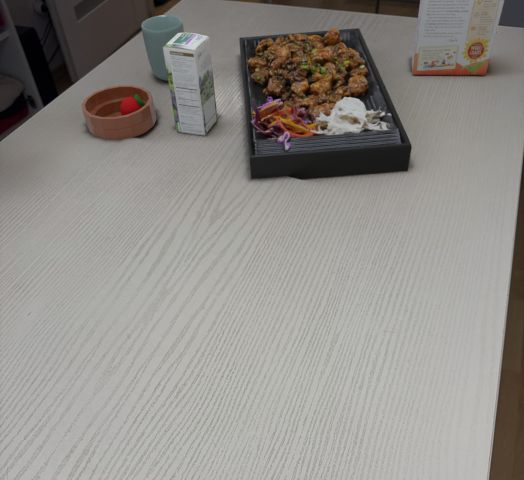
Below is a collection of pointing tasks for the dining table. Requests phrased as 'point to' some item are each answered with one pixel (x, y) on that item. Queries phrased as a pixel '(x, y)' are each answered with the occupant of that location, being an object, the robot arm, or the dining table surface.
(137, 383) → the dining table surface
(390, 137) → the food platter
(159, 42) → the cup
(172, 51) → the syrup box
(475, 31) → the cracker box
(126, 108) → the strawberry
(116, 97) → the bowl
